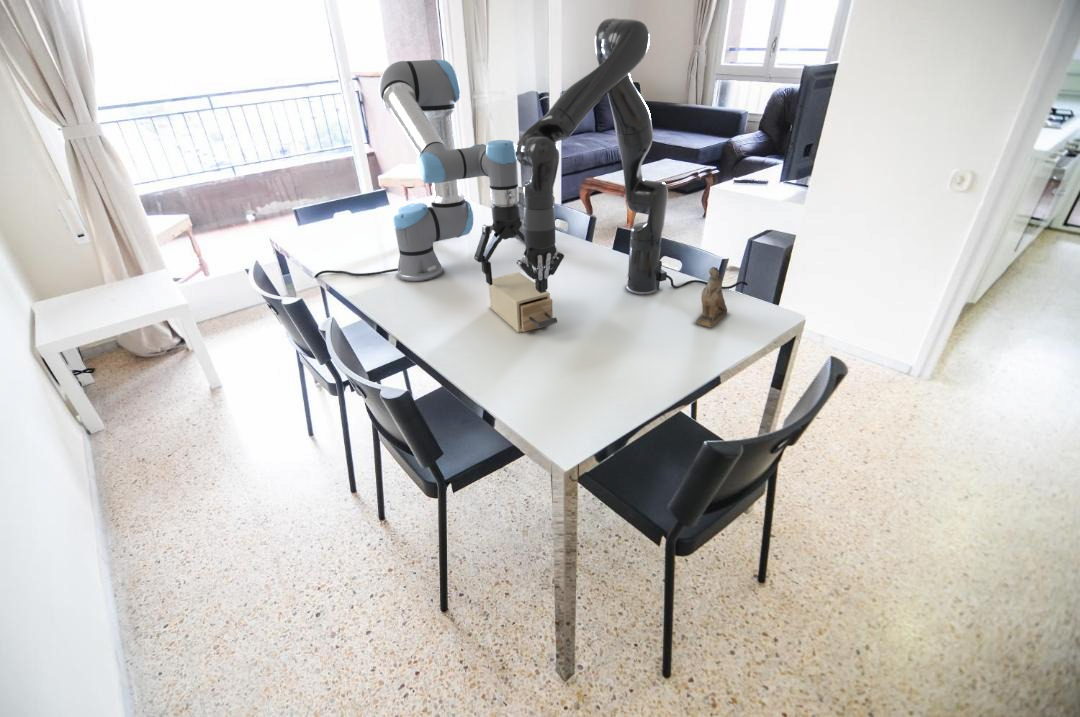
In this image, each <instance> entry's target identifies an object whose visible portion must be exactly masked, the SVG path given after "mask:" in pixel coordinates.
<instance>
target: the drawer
mask: <svg viewBox="0 0 1080 717" xmlns="http://www.w3.org/2000/svg"><path fill="white" fill-rule="evenodd" d="M519 309H520V325H521V326H522V331H521V332H523V333H526V332H529V331H533V330H536V329H540V328H544V327H547V326H551V325H555V324H558V318H557V317H556V316H555V317H554V316H553V314H554V313H553V299H552V298H551V297H550V298H548V299H545V297H543V298H540V299H536V300H532V301H528V302H525V303H521V304H519Z"/></svg>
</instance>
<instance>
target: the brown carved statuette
mask: <svg viewBox="0 0 1080 717" xmlns="http://www.w3.org/2000/svg"><path fill="white" fill-rule="evenodd" d="M708 273H709V275H710V276H709V278H708V279H707V280H708V281H707V282H708V284H707V285H706V286H705V287H704V288H703V290H702V292H701V297H700V298H701V309H702V312H701V315H700V316H699V317H698V318H697V319H696V321H695V324H696V325H699V326H703V327H705V328H712V327H714V326H715V325H716V324H717V323H719V321H721V320H722V319H723V318H725V317H726V316H727V315H728V307H727V304H726V301H725V298H724V293H723V289H721V288H722V287H723V281H722V279H721V278H720V270H719V269H718V268H717V267H715V266H712V267H711V268H710V269H709V270H708Z"/></svg>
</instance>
